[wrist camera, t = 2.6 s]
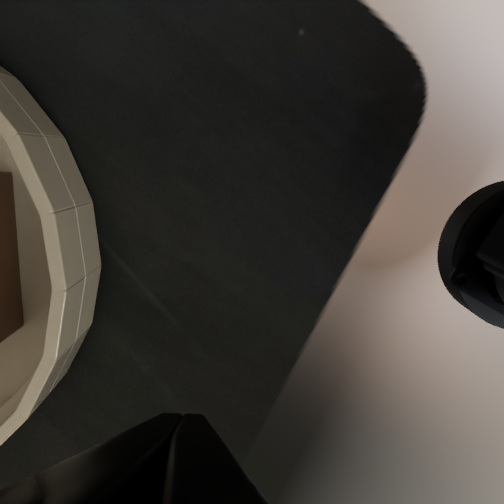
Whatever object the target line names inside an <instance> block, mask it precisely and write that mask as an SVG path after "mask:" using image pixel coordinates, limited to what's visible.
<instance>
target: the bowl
mask: <svg viewBox="0 0 504 504" xmlns="http://www.w3.org/2000/svg"><path fill="white" fill-rule="evenodd" d="M0 171H3V172H12V175H13V189H14V202H15V215H16V228H17V241H18V254H19V268H20V281H21V294H22V307H23V320H24V325H23V326H22V327H21V328H20V329H18V330H17V331H16V332H14V333H13V334H12V335H10V336H9V337H8V338H6V339H5V340H4V341H2V342H1V343H0V446H1V445H2V444H3V443H4V442H5V441H6V440H7V439H8V438H9V437H10V436H11V435H12V434H13V433H14V432H15V431H16V430H17V429H18V428H19V427H20V426H21V425H22V424H23V423H24V422H25V421H26V420H27V419H28V418H29V417H30V415H31V414H32V413H33V412H34V411H35V410H36V408H37V407H38V406H39V405H40V404H41V402H42V401H43V400H44V399H45V398H46V397H47V395H48V394H49V393H50V392H51V391H52V389H53V388H54V387H55V386H56V385H57V384H58V382H59V381H60V380H61V379H62V378H63V376H64V375H65V374H66V373H67V371H68V369H69V367H70V365H71V363H72V361H73V359H74V357H75V355H76V354H77V352H78V350H79V348H80V346H81V344H82V342H83V340H84V338H85V336H86V334H87V332H88V330H89V328H90V326H91V323H92V320H93V314H94V308H95V302H96V296H97V289H98V283H99V277H100V271H101V259H100V251H99V244H98V237H97V229H96V222H95V215H94V208H93V202H92V199H91V197H90V194H89V192H88V190H87V187H86V185H85V183H84V181H83V178H82V176H81V174H80V171H79V169H78V167H77V164H76V162H75V160H74V158H73V155H72V153H71V151H70V148H69V146H68V144H67V142H66V139H65V138H64V136H63V135H62V134H61V132H60V131H59V130H58V129H57V127H56V126H55V125H54V123H53V122H52V121H51V120H50V118H49V117H48V116H47V115H46V113H45V112H44V111H43V110H42V108H41V107H40V106H39V105H38V103H37V102H36V101H35V100H34V98H33V97H32V96H31V95H30V93H29V92H28V91H27V90H26V88H25V87H24V86H23V85H22V83H21V82H20V81H19V80H17V78H16V77H15V76H13V75H12V74H11V73H9V72H8V71H7V70H5V69H4V68H3V67H1V66H0Z"/></svg>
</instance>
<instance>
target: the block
mask: <svg viewBox="0 0 504 504" xmlns="http://www.w3.org/2000/svg"><path fill="white" fill-rule="evenodd" d="M23 325H24V320H23V307H22V294H21V281H20V268H19V254H18V241H17V228H16V215H15V202H14V189H13V175H12V172H3V171H0V343H1V342H2V341H4V340H5V339H6V338H8V337H9V336H10V335H12V334H13V333H14V332H16V331H17V330H18V329H20V328H21V327H22V326H23Z"/></svg>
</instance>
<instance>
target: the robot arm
mask: <svg viewBox="0 0 504 504" xmlns="http://www.w3.org/2000/svg"><path fill="white" fill-rule="evenodd" d="M460 276H463V277H464V279H463V281H462V282H461V283H458V281H457V280H458V278H459V277H460ZM450 283H451V285H452V286H454V287H455V288H457V289H458V290H460V291H462V292H464V293H465V294H467V295H469V296H471V297H472V298H474V299H476V300H478V301H479V302H481V303H483V304H485V305H486V306H488V307H490V308H492V309H493V310H495V311H497V312H499V313H500V314H502V315H504V197H503V199H502V200H501V202H500V203H499V205H498V206H495V207H493V209H492V210H491V212H490V213H489V214H488V216H487V217H486V219H485V220H484V222H483V223H482V225H481V226H480V228H479V229H478V231H477V232H476V234H475V235H474V236H473V238H472V239H471V241H470V242H469V244H468V245H467V252H466V253H465V254H464V256H463V257H462V259H461V260H460V262H459V263H458V265H457V266H456V268H455V269H454V271H453V272H452V273H451V275H450ZM0 504H270V502H269V501H268V500H267V499H266V498H265V496H264V495H263V494H262V493H261V491H260V490H259V489H258V487H257V486H256V485H255V484H254V483H253V481H252V480H251V479H250V477H249V476H248V475H247V474H246V472H245V471H244V469H243V468H242V467H241V465H240V464H239V462H238V461H237V460H236V458H235V457H234V456H233V454H232V453H231V452H230V450H229V449H228V448H227V446H226V445H225V444H224V442H223V441H222V439H221V438H220V437H219V435H218V434H217V433H216V431H215V430H214V429H213V427H212V426H211V425H210V423H209V422H208V421H207V419H206V418H205V417H204V415H202V414H184V415H183V416H182V415H181V414H180V413H162V414H160V415H158V416H156V417H154V418H152V419H149V420H147V421H145V422H143V423H141V424H139V425H137V426H135V427H133V428H131V429H129V430H127V431H125V432H123V433H120V434H118V435H116V436H114V437H112V438H110V439H108V440H106V441H104V442H102V443H100V444H98V445H96V446H94V447H91V448H89V449H87V450H85V451H83V452H81V453H79V454H77V455H75V456H73V457H71V458H69V459H67V460H64V461H62V462H60V463H58V464H56V465H54V466H52V467H50V468H48V469H46V470H44V471H42V472H40V473H38V474H36V475H35V476H29V477H27V478H25V479H23V480H21V481H19V482H17V483H15V484H13V485H11V486H9V487H6V488H4V489H2V490H0Z"/></svg>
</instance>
